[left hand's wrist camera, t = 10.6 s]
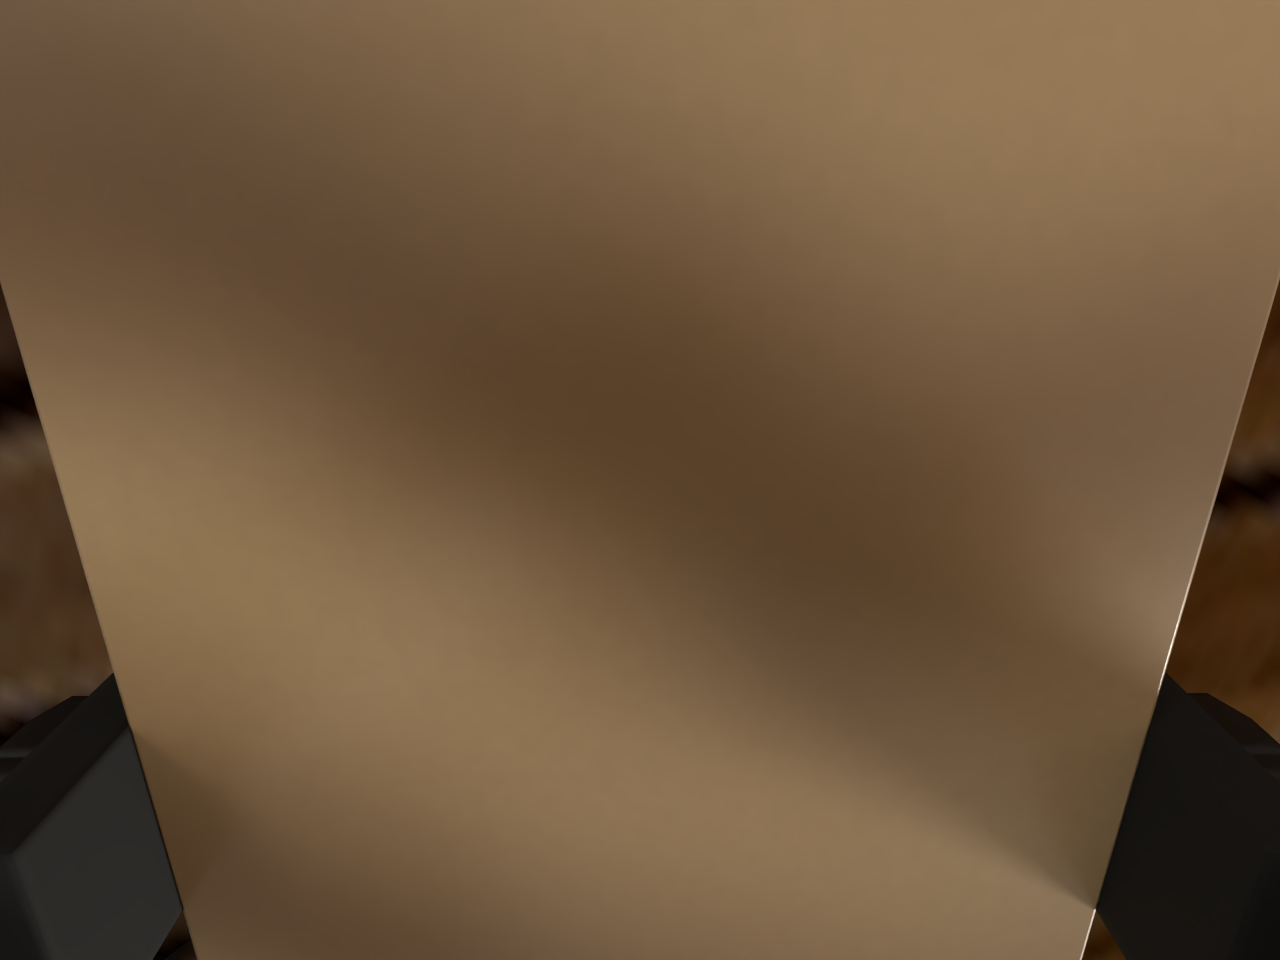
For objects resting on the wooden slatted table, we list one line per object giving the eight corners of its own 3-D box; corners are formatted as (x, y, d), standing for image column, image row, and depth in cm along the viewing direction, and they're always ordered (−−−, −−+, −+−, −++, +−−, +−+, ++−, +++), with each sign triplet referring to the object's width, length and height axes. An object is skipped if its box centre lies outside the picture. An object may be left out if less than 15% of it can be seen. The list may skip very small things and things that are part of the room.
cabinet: (312, -370, 13) (-648, -1919, 3) (967, -370, 13) (1926, -1912, 3) (424, 610, 20) (219, 1043, 10) (854, 611, 20) (1059, 1043, 10)
